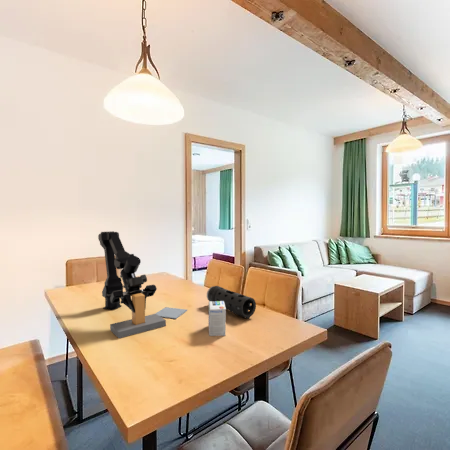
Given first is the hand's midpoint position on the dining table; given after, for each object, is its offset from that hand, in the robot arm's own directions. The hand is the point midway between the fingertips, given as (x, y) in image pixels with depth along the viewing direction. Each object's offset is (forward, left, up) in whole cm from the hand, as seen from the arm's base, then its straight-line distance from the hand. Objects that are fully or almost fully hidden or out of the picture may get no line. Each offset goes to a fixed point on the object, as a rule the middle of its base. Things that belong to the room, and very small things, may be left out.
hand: (139, 311), depth 119 cm
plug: (-1, +1, -8) cm, 8 cm away
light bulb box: (+31, +9, -8) cm, 33 cm away
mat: (+3, +21, -8) cm, 22 cm away
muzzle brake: (+29, +33, -8) cm, 44 cm away
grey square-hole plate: (-1, +1, -8) cm, 8 cm away
